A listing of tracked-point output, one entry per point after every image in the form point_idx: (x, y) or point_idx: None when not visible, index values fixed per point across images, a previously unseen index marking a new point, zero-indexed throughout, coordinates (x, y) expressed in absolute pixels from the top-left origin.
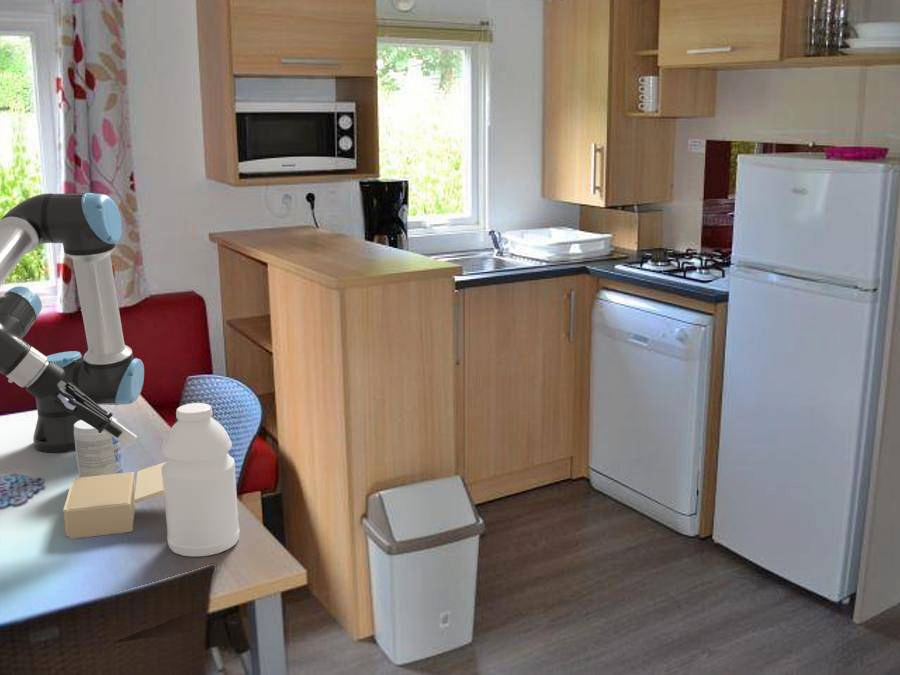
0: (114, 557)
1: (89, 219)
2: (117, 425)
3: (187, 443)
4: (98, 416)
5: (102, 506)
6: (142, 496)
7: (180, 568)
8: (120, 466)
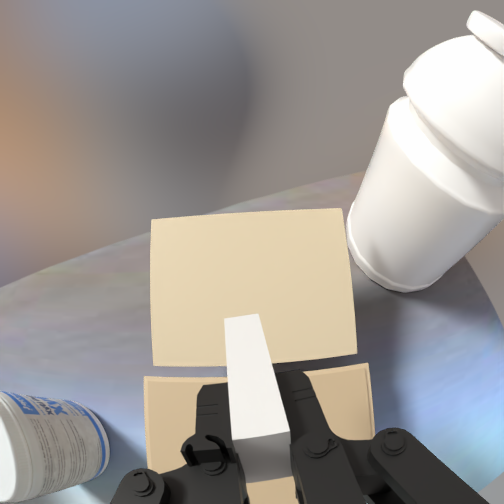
0: (438, 375)
1: None
2: (279, 395)
3: None
4: (463, 482)
5: (369, 424)
6: (353, 333)
7: (466, 268)
8: (65, 403)
